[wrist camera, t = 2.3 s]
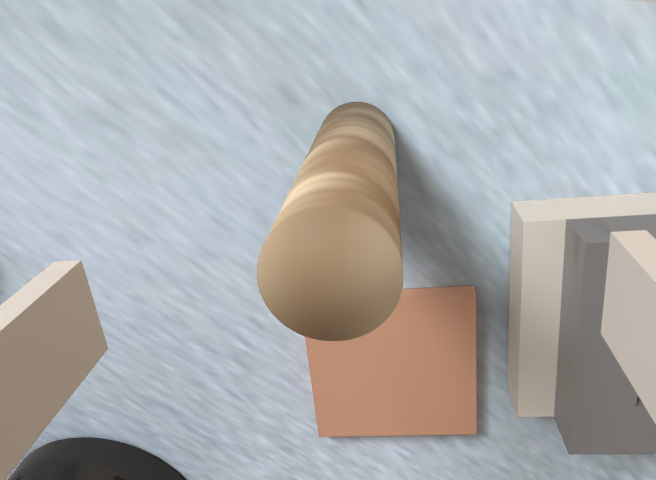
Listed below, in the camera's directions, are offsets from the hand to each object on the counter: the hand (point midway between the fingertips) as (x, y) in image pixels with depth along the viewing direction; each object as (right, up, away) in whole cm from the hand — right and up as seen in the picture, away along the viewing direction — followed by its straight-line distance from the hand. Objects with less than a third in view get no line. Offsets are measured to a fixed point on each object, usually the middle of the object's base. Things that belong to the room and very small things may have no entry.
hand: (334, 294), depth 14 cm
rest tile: (+4, -6, +21) cm, 22 cm away
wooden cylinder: (+1, +7, +16) cm, 17 cm away
